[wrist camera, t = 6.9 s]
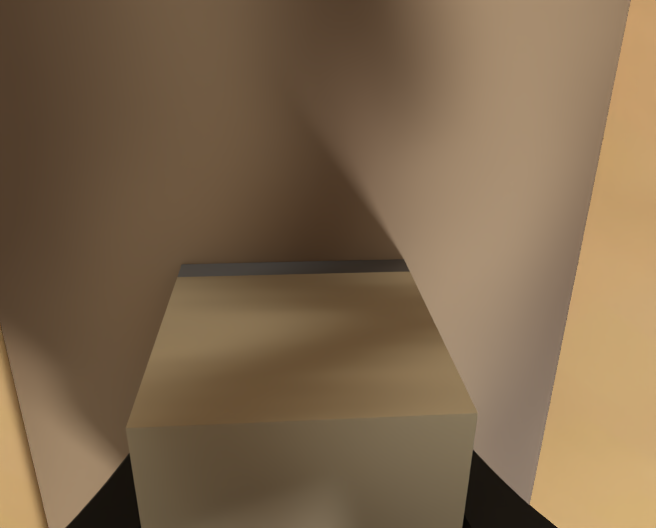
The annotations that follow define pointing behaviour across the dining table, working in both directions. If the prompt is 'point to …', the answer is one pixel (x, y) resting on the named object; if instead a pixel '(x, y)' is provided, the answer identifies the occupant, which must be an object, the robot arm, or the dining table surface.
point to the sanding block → (300, 402)
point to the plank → (291, 187)
